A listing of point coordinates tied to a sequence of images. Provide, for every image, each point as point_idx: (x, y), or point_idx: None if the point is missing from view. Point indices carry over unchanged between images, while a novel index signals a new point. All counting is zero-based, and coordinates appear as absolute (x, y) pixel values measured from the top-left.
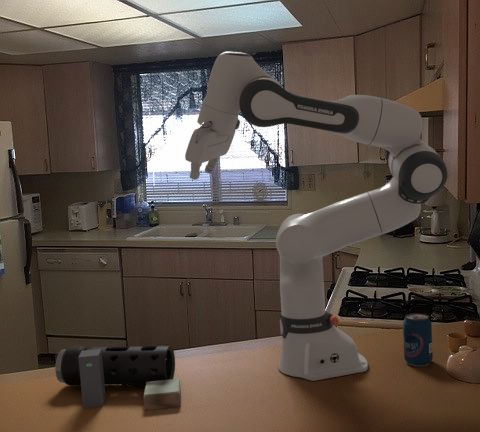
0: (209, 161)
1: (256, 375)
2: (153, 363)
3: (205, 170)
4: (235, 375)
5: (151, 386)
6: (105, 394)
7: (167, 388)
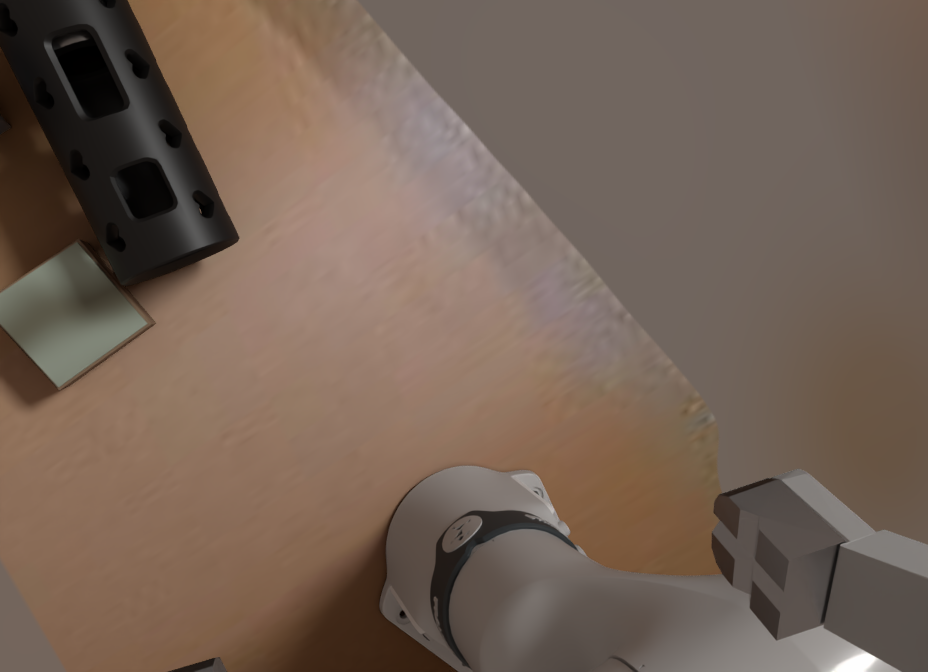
0: (906, 587)
1: (358, 449)
2: (103, 245)
3: (728, 511)
4: (335, 394)
5: (51, 282)
6: (7, 124)
7: (61, 340)
